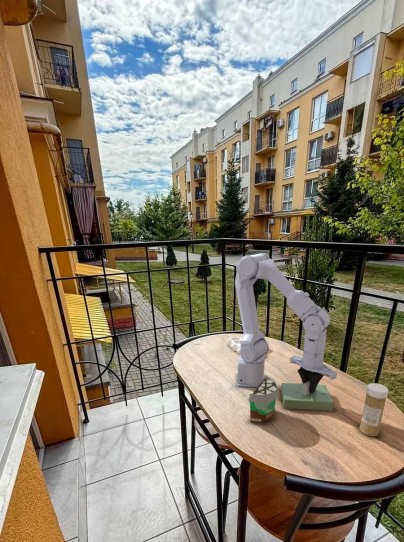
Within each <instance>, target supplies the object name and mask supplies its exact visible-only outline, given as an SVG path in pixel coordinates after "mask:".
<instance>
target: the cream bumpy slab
mask: <svg viewBox="0 0 404 542" xmlns="http://www.w3.org/2000/svg"><path fill="white" fill-rule="evenodd" d="M242 337H243V336H242ZM242 337H241V336H231V337H229V339H228V346H229V348H230V349H232V351H234V352H236V353H237V354H239V355H240V348H241V344H240V342H241V339H242Z"/></svg>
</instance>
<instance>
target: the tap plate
mask: <svg viewBox="0 0 404 542" xmlns="http://www.w3.org/2000/svg"><path fill="white" fill-rule="evenodd" d="M302 391H303V383H294V382H280V396H281V400H282V405H283V408H284V409H294V410H307V411H308V410H309V411H326V412H327V411H328V412H333V411H334V405H335V402H334V399H333V397H332V395H331V394H330V391H329V389H328V386H327V385H326V384H318V385H317V387H316V390H315V392H313V393H310V394H308V395H306V396H305V395H303V394H302Z"/></svg>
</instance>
